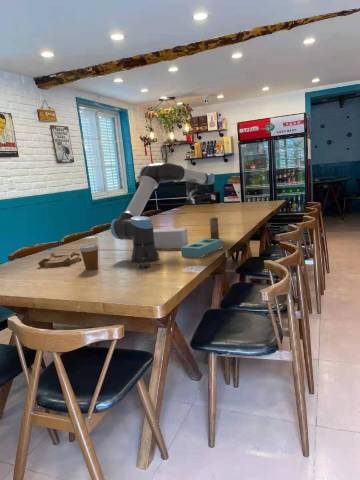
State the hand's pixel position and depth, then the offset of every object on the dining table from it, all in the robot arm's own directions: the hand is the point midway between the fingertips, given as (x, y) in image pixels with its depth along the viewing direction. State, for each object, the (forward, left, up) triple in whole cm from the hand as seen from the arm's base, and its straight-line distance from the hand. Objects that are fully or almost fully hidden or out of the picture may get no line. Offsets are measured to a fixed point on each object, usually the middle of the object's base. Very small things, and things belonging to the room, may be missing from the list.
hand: (204, 199), depth 220 cm
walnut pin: (-4, -8, -27) cm, 29 cm away
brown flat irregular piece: (-73, +55, -28) cm, 95 cm away
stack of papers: (-20, +22, -28) cm, 40 cm away
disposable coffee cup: (-75, +24, -27) cm, 83 cm away
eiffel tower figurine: (-62, -3, -28) cm, 68 cm away
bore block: (-26, -13, -27) cm, 39 cm away
